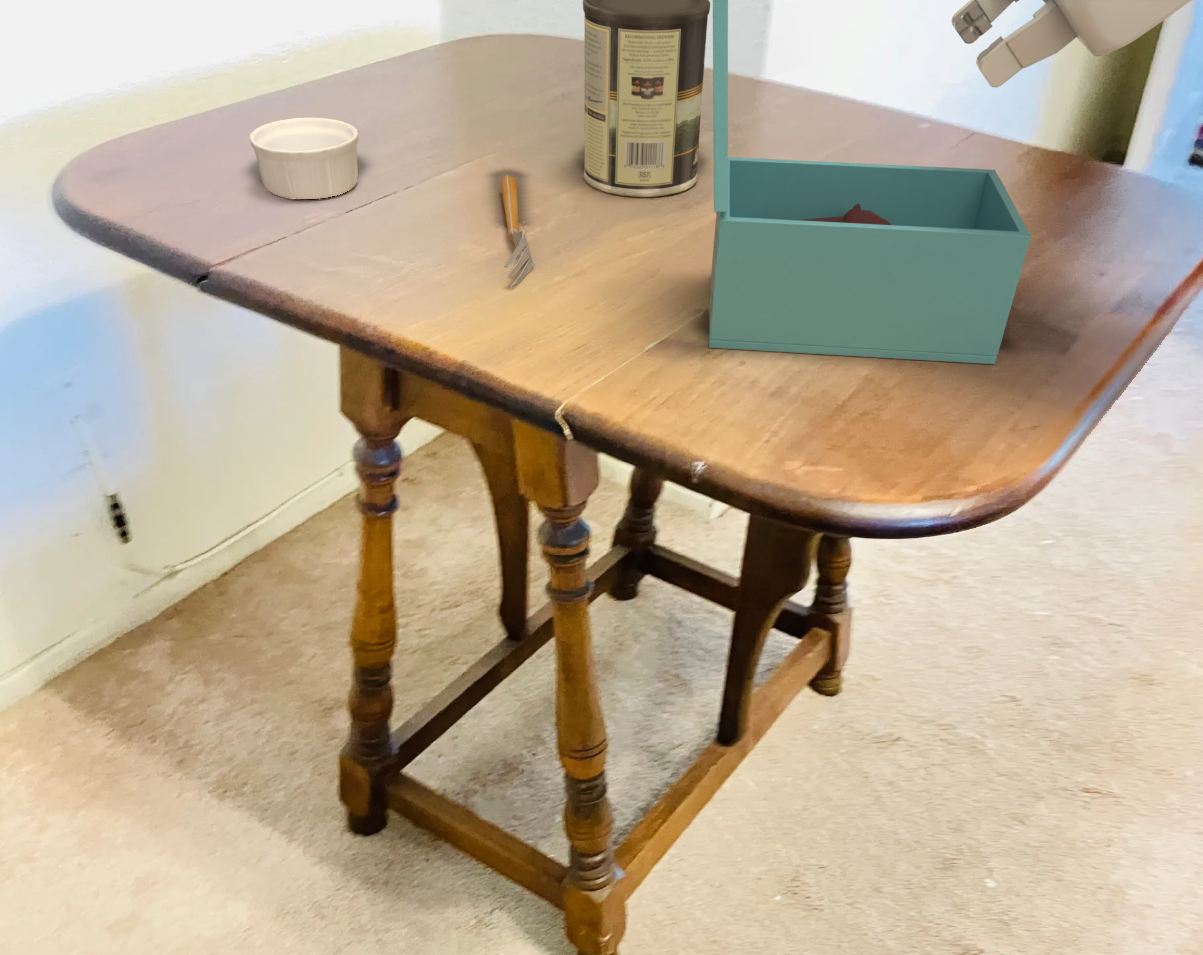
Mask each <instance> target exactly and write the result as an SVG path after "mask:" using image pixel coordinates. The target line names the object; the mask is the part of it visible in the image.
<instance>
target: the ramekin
mask: <svg viewBox="0 0 1203 955" xmlns="http://www.w3.org/2000/svg"><path fill="white" fill-rule="evenodd" d="M249 142H250V145H251V147H252V149H253V151H254V154H255V157H256V162H257V166H258V168H259V172H260V176H261V181H262V184H263V186H264V187H265V189H266V190H267V191H268V192H269V191H270V192H269V193H271V192H272V193H274V194H276V195H279V196H283V197H287V198H296V199H317V198H319V200H321V199H320V198H326V199H329V198H328V197H331V198H333V197H332V196H335V197H338V196H341V195H344V194H345V192H346V193H347V191H348V192H350V191H351V190H353V188H354V187H355V186H356V184H357V182H358V178H359V173H358V172H359V171H358V170H359V168H358V143H359V131H358V130H357V128H356V127H354V125H352V124H350V123H348V122H345V121H342V120H338V119H333V118H327V117H310V116H309V117H295V118H294V117H293V118H285V119H280V120H275V121H271V122H268V123H265V124H263V125H260V126H259V127H256V128H255V129H254V130H252V132H251V133H250V135H249ZM272 193H271V194H272ZM343 193H344V194H343ZM274 194H273V195H274ZM340 194H341V195H340ZM276 195H275V196H276ZM337 195H338V196H337ZM279 196H278V197H279ZM283 197H282V198H283ZM287 198H286V199H287Z"/></svg>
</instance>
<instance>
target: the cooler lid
mask: <svg viewBox="0 0 1203 955" xmlns="http://www.w3.org/2000/svg"><path fill="white" fill-rule="evenodd" d="M728 80H729V0H712V103H713V105H712V108H713V110H712V112H713V114H712V115H713V117H712V120H713V121H712V122H713V129H712V130H713V211H714V213H716V212H726V211H727V174H728V157H729V153H728V150H729V138H728V137H729V134H728V133H729V130H728V129H729V108H728V107H729V81H728Z"/></svg>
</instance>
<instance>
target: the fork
mask: <svg viewBox="0 0 1203 955" xmlns="http://www.w3.org/2000/svg"><path fill="white" fill-rule="evenodd" d="M500 182H501V183H500V187H501V193H502V194H501V195H502V200H503V206H504V212H505V220H506V226H507V233H508V237H509V239H510V240H511V241H512V242H513V243H514V247H515V249H514V251H513V253H512V254H511V255H510V257H509V258H508V259H507V260H506V261H505V262H504V268H508V267H509V266H510V265H511V264H512V263H513V262H515V260H517V258H518V260H517V261H516V264H515V265H514V266H513V268H511V270H510V271H509V272H508V273H507V278H508V279H511V278H512V277H513V276H515V274H517V272H518V271H520V269H522V270H521V272H520V273H519V275H518V276H517V278H515V281H514V282H513V283H511V286H510V289H511V290H514V289H515V288H516V287H517V286H518V285H519V284H520V283H521V282H522V281H523V280H524V279H525V277H526V276H527V275H528V274H529V273H530V272H531V271H532V270H533V269H534V266H535V264H534V261H533V257H532V255H531V249H530V246H529V243H528V239H527V235H526V232H525V230H524V229H522V230H521V231H520V223H519V222H520V220H519V201H518V198H519V197H518V183H517V180H516V178H514V177H513V176H511V175H505V176H504V177H502V180H501V181H500ZM521 252H522V253H521ZM520 254H521V255H520ZM519 255H520V256H519ZM524 264H525V265H524ZM523 266H524V267H523ZM522 267H523V268H522Z"/></svg>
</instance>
